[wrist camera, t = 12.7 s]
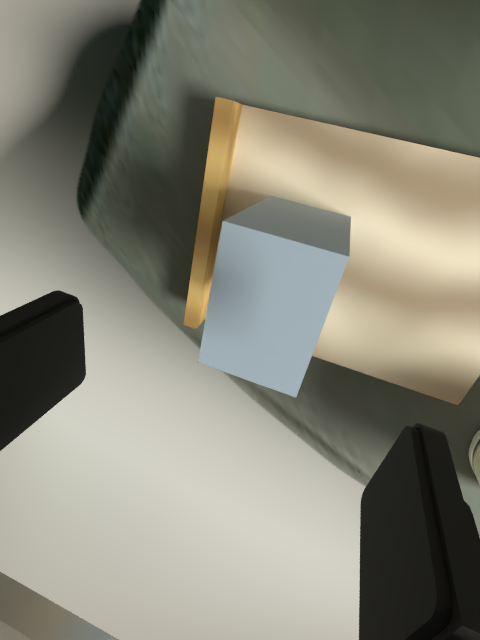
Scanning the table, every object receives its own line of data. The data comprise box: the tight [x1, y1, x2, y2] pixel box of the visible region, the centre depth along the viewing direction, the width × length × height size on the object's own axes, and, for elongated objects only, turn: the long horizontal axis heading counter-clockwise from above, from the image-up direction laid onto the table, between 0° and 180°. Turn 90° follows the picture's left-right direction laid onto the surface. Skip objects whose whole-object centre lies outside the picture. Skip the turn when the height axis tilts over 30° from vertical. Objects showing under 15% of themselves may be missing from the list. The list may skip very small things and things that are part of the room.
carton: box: [198, 196, 351, 397], centre depth 18 cm, size 5×7×9 cm
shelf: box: [184, 97, 480, 405], centre depth 21 cm, size 14×20×3 cm
